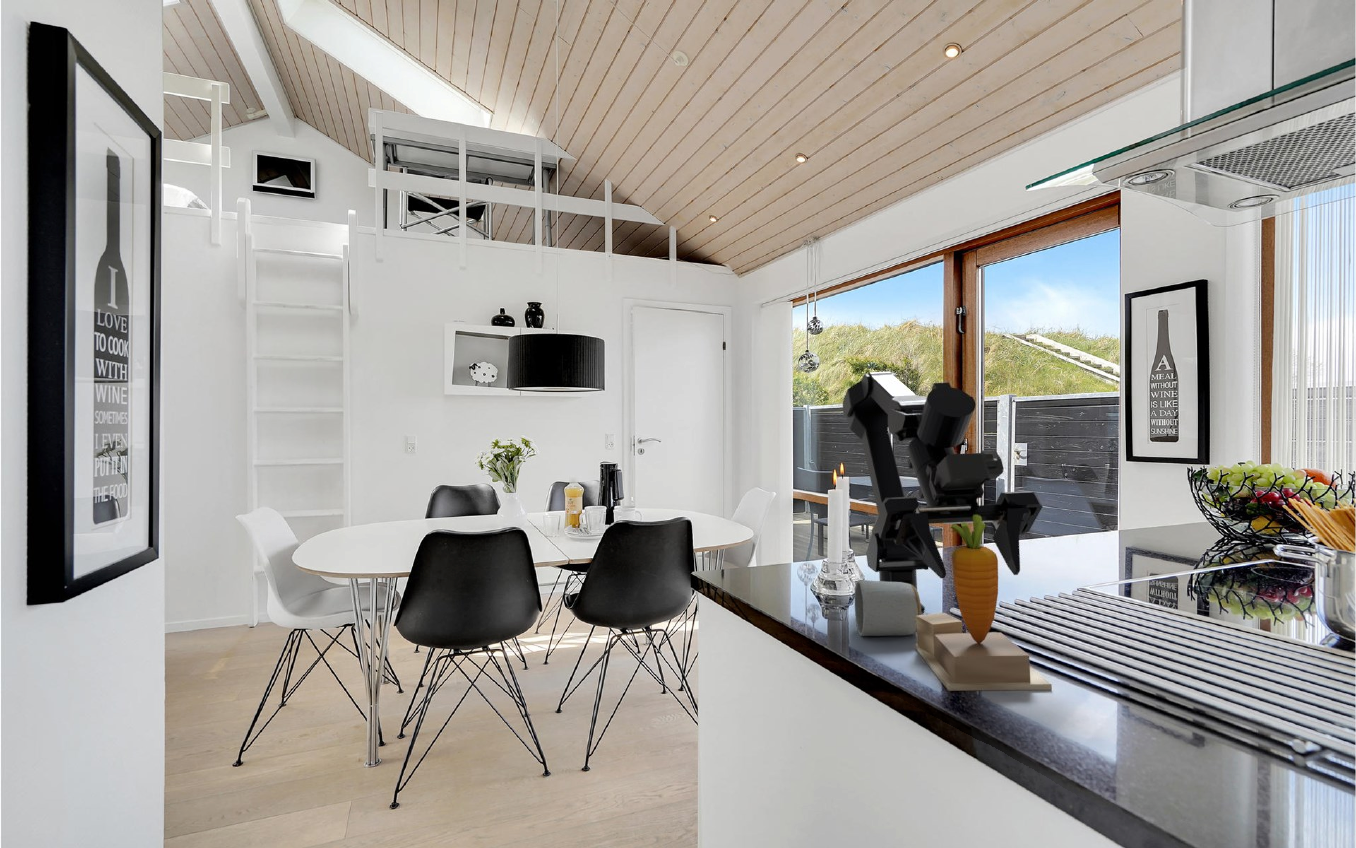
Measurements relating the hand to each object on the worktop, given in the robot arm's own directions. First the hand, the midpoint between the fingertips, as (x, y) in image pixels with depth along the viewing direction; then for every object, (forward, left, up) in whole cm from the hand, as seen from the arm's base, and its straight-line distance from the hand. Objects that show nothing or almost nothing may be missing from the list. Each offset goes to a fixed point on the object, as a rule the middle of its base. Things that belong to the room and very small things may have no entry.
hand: (980, 574), depth 76 cm
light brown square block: (-1, 0, -11) cm, 12 cm away
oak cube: (-8, -3, -11) cm, 14 cm away
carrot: (-2, 0, -9) cm, 9 cm away
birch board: (-4, 0, -12) cm, 13 cm away
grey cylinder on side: (-18, -8, -12) cm, 23 cm away
